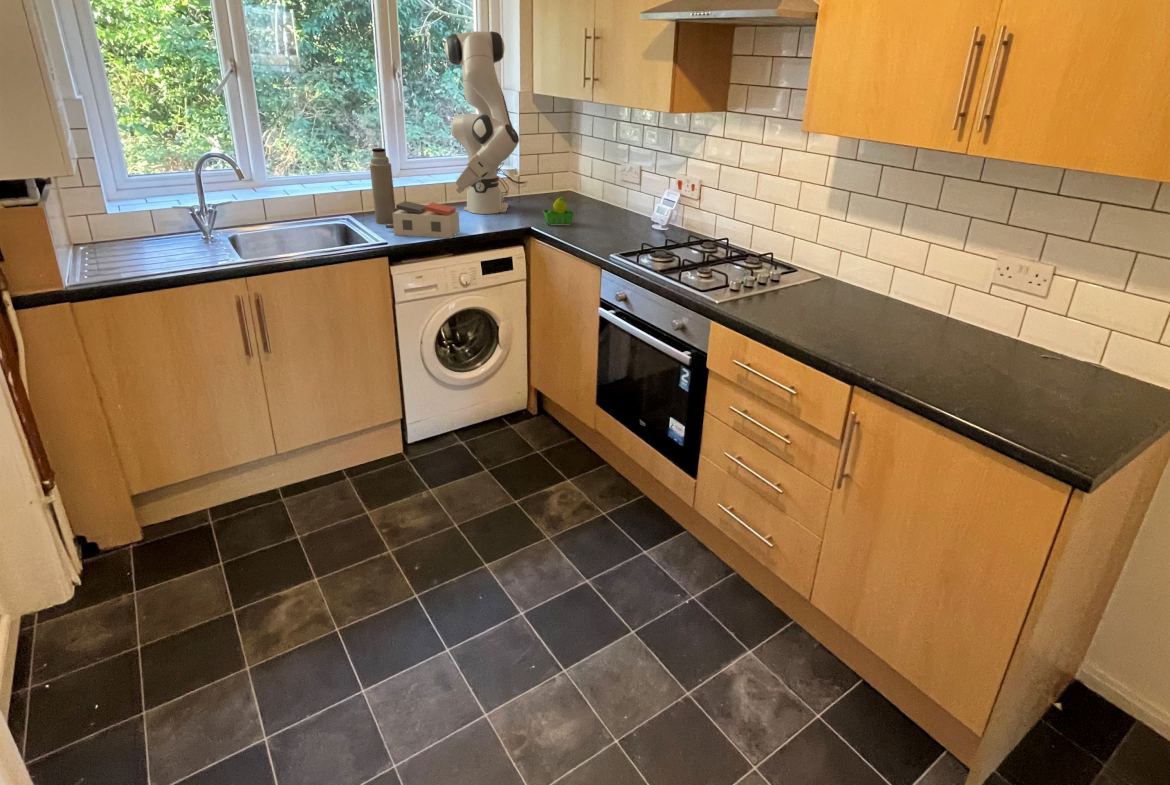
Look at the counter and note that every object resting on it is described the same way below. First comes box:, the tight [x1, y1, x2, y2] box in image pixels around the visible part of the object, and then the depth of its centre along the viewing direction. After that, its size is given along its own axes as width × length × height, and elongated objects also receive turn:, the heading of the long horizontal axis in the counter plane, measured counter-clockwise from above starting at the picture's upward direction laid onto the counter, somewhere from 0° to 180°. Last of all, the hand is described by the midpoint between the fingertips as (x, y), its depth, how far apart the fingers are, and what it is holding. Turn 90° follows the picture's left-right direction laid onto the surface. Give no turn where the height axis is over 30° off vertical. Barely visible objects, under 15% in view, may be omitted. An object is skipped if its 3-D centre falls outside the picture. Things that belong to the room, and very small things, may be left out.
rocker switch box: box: [385, 209, 461, 239], centre depth 267 cm, size 10×27×8 cm, turn 81°
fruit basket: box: [542, 196, 574, 225], centre depth 283 cm, size 11×9×11 cm
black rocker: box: [395, 200, 426, 214], centre depth 265 cm, size 8×9×2 cm
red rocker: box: [425, 201, 457, 216], centre depth 263 cm, size 8×9×2 cm
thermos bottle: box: [369, 147, 397, 225], centre depth 279 cm, size 8×8×28 cm
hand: (458, 191), depth 259 cm, fingers closed
